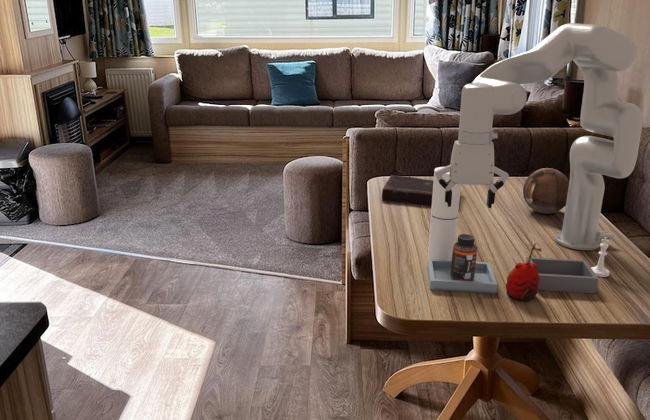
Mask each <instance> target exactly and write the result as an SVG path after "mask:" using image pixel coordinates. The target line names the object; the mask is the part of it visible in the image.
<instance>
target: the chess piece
mask: <svg viewBox="0 0 650 420" xmlns="http://www.w3.org/2000/svg"><path fill="white" fill-rule="evenodd" d="M600 241H601V244H600V247H599V248H600V251H598V255H599V258H598V261H597V265H595V266H592V267H591V266H590V267H591V269H592V270H593V271H594V273H595V274H596V276H597V277H598V278H599V277H601V278H607V277H609V276H610V270H609V269H607V268H606V267H605V256H607V255H608V253H607V252H606V251H607V249H608V248H609V244H608V243H609V242H610V240H606V237H605V238H604V239H602V240H600Z"/></svg>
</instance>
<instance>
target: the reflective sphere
mask: <svg viewBox="0 0 650 420" xmlns="http://www.w3.org/2000/svg"><path fill="white" fill-rule="evenodd" d="M569 181H570V179H568V177H567V176H566V175H565V174H564V173H563V172H561V171H559V170H557V169H554V168H552V167H551V168H549V167H545V168H539V169H537V170H535V171H533V172H532V173H531V174H530V175H529V176H528V177H527V178H526V179H525V181H524V184H523V189H522V194H523V199H524V201H525V203H526V205H527V206H528V207H529V208H530V209H531V210H533V211H535V212H536V213H539V214H545V215H546V214H547V215H550V214H555V213H557V212H559V211H561V210H562V209H564V208H565V207H566V201H567V194H568V188H569Z"/></svg>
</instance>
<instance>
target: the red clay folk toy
mask: <svg viewBox="0 0 650 420" xmlns="http://www.w3.org/2000/svg"><path fill="white" fill-rule="evenodd" d="M536 245H537V243H534V244H533V246H532V244H531V243H529V246H530V247H531V249H530V254H529V255H528V257H529V260H528V261H527V263H526V262H517V263H516V264H515V265H514V268H512V269H511V271H510V272H509V273H508V275H507V276H506V283H505V289H506V290H505V291H506V294H508V296H510V297H511V298H512V299H515V300H518V301H528V302H529V301H530V300H532V299H534V298H535V297H536V296H537V294H538V292H539V290H538V286H539V280H540V278H539V274H540V273H538V270H537V265H536V264H535V263H530V259H531V257H532V255H533V252H534V250H535V251H537V252H540V253H541V252H542V247H539V248H537V247H536Z"/></svg>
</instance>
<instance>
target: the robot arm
mask: <svg viewBox="0 0 650 420" xmlns="http://www.w3.org/2000/svg"><path fill="white" fill-rule="evenodd" d="M637 56H638V46H637V44H636V42H635V40H634V39H632V37H630V36H628V35H626V34H624V33H622V32H619V31H617V30H614V29H613V28H609V27H607V26H605V25H600V24H591V23H578V22H577V23H576V22H575V23H574V22H573V23H572V22H570V23H569V22H568V23H565V24H563V25H560V26H559V27H557V28H556V29H555V30H554V31H552V32H551V33H550V34H548V35H547V36H546V37H545V38H544V39H542V40H541V41H539V43H537V44H536V45H535V46H534V47H532V48H531V49H529V50H528V51H525V52H521V53H519V54H516V55H514V56H513V55H512V56H511V57H508V58H506V59H505V58H504V59H502V60H501V61H498V62H496V63H494V64H491V65H490V66H489V67H487V68H486V69H485V70H484V71H482V72H481V73H480V74H479V75H478V76H476V77H475V78H474V80H473V81H472V82H471V83H467V84H465V85H464V86H463V88H462V90H461V94H460V95H461V97H460V111H459V113H460V114H459V126H458V136H457V140H454V143H453V146H452V152H451V155H450V164H449V165H446V166H443V167H444V168H442V169H439V170H437V171H435V175H436V177H437V179H438V181H439V183H440V185H441V186H442V187H443V188H444V189H445V202H447V205H448V207H450V206H451V200H452V190H451V188H452V187H454V186H455V185H456V184H461V185H465V186H467V185H468V186H469V185H470V186H486V185H487V187H488V190H487V197H486V206H487V208H488V209H492V206H493V205H494V204H495V200H496V193H497V192H498V191H499V189H501V188H502V187H503V186H505V183H506V182H507V180H508V179H509V177H510V175H509V173H508V172H506V171H504V170H502V169H500V168H499V167H497V166H495V148H494V142H493V140H494V139H495V140H497V139H498V137H499V136H498V135H499V134H498V132H494V131H493V124H494V123H493V121H494V115H506V116H507V115H513V114H514V115H515V114H516V113H518V112H520V111H521V110H522V109H523V108H524V107H525V105H526V104H527V100H528V99H527V98H528V95H527V92H526V89H525V88H524V87H523V86H522V85H527V84H536V83H541V82H545V81H548V80H550V79H552V78H553V77H554V76H555V75H556V74H558V73H559V72H560V71H561V70H562V69H563V68H565V67H566V66H567V65H569V63H571V62H572V61H573V63H575V64H576V66H577V67H578V68H579V69H580V72H581V74H582V77H583V82H584V85H583V93H582V101H581V102H582V103H581V107H580V108H581V109H580V121H579V122H580V126H581V127H582V129H583V130H585V131H587V132H590V133H593V134H598V135H602V136H608V137H612V138H613V140H611V139H607V138H603V137H598V136H594V135H584V136H580V137H577V138H576V139H575V140H574V141H573V142H572V144H571V147H570V150H569V164H570V165H569V166H570V167H569V169H570V171H569V172H570V173H569V188H568V194H567V201H566V206H565V207H564V208H565V209H564V215H563V222H562V227H561V229H562V230H561V231H560V232H558V233H556V234H555V238H554V240H555V241H556V243H557V244H559V245H561V246H563V247H565V248H568V249H572V250H577V251H594V250H597V249H599V248H601V247H600V244H601V243H602V241H601V240H602V239H604V238H605V237H606V240H609V241H614V239H615V234H614V233H610V232H607V230H600V229H599V222H600V217H601V213H602V211H601V210H602V206H603V199H604V195H605V194H604V193H605V180H604V176H607V177H611V178H615V179H625V178H628V177H629V176H630V175H631V174H632V172H633V171H634V169H635V166H636V164H637V163H636V162H637V159H638V154H639V150H640V149H639V147H640V143H641V137H642V129H643V121H644V120H643V119H644V116H643V112H642V110H641V109H640V107H639V106H638V105H637V104H634V103H632V102H627V101H622V100H619V99H618V91H619V75H618V72H624V71H626V70H628V69H630V68H631V67H632V66H633V65H634V63H635V62H636V59H637ZM448 172H450V177H451V178H450V179H449V180H448V181H447V182H446V181H445V180H444V179H443V177H442V175H443V174H446V173H448ZM495 175H498V176H499V177H500V178H499V179H498V180H497V181H496V182H495V183H494V179H495V178H494V177H495ZM603 175H604V176H603Z"/></svg>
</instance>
